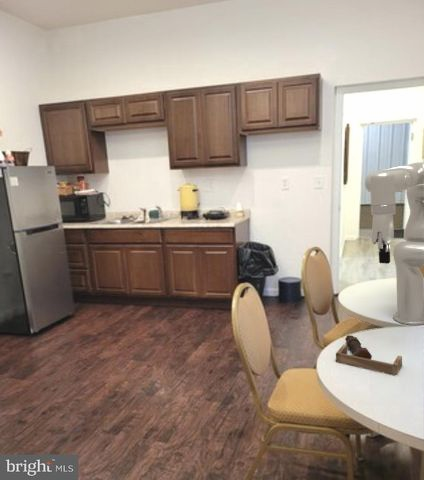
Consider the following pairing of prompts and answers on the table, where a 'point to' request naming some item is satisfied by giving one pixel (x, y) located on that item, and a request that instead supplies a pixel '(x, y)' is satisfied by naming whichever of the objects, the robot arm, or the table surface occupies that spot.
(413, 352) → the table surface
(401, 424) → the table surface
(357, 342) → the bolt
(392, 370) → the bracket
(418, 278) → the robot arm
